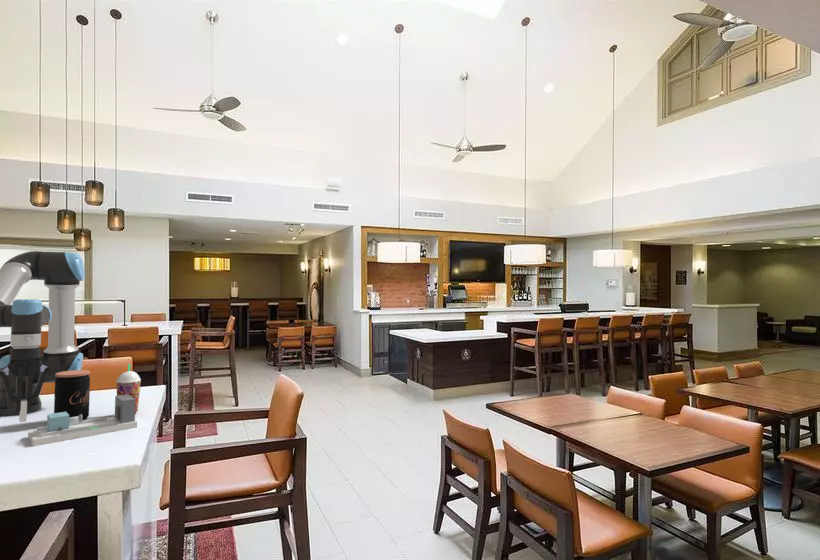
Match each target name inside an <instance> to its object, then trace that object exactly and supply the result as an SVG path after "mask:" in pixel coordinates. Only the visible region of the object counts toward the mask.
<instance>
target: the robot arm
mask: <svg viewBox="0 0 820 560" xmlns="http://www.w3.org/2000/svg"><path fill="white" fill-rule="evenodd" d="M33 280H35V281H43V284H44V287H46V288H48V306H47V305H44V304H43V301H42V300H41V299H36V298H35V299H29V298H28V299H24V298H22V299H16V296H17V295H18V294H19V292H20V291H21V289H22V288H23V285H25V284H27V283H28V282H30V281H33ZM82 281H85V265H84V261H83V259H82V257H81V255H80V254H79V253H77V252H68V251H66V252H65V251H42V250H41V251H38V250H32V251H31V250H30V251H26V252H23V253H19V254H17V255H15V256H13V257H11V258H10V259H8V260H7V261H6V262H5V263H3V264H2V265H1V267H0V328H10V344H9V345H10V347H11V349H10V350H9V354H7V355H4V356H3V357H1V358H0V417H1V416H3V417H5V416H16V415H17V416H18V415H19V418H18V420H19V423H23V422H25V423H26V422H27V417H28V415H27V414H28V413H33V412H37V411H39V410H41V409H42V400H41V398H40V393H41V392H42V391H41V390H42V388H43V385H44V384H49V383H50V384H51V383H52V384H53V383H55V380H56V379H57V377H56V376H55V374H56V373H58V372H64V371H72V370H82V368H83V362H84V354H83V353H82V352H79V347H77V346H76V345H75V320H76V319H75V316H76V315H75V311H76V308H75V307H76V305H75V303H76V301H75V300H76V289H77V288H78V287H79V286H80V282H82ZM47 323H48V328H47V329H48V331H47V333H48V338H47V339H48V340H47V344H48V345H47V347H46V348H45V349H44V350H43V354H42V353H41V349H42V348H41V347H40V346H41V344H42V326H44V325H46V324H47Z"/></svg>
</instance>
